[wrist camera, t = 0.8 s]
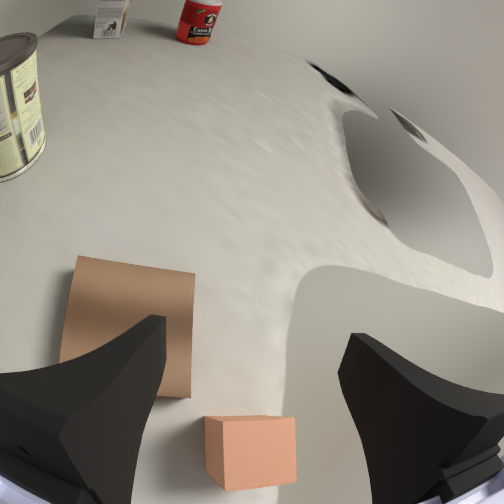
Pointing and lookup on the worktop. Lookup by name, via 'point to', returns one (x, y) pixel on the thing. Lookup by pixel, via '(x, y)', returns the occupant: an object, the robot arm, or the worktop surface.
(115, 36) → the brown white food box
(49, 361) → the worktop surface
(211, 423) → the terracotta block
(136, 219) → the worktop surface
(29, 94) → the coffee can
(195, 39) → the canned food
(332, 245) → the worktop surface
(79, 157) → the worktop surface
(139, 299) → the walnut base
